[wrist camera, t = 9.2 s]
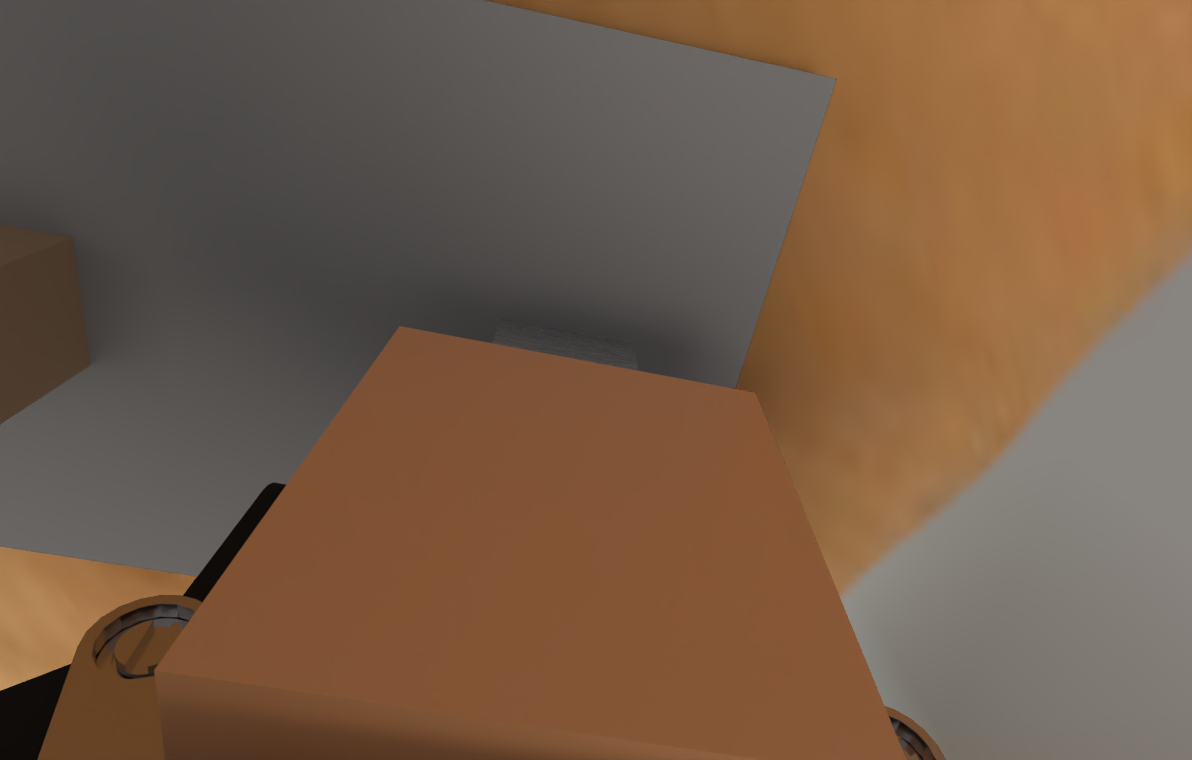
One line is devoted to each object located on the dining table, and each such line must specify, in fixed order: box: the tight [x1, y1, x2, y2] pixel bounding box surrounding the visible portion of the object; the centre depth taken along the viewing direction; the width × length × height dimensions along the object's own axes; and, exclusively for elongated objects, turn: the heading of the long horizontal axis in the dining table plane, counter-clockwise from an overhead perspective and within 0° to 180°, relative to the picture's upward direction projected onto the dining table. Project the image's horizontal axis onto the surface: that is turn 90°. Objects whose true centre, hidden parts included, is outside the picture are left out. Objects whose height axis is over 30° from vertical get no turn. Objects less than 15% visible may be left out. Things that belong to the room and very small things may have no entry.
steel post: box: [492, 318, 638, 371], centre depth 13 cm, size 3×3×7 cm
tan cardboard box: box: [154, 326, 906, 760], centre depth 9 cm, size 6×6×7 cm
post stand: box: [0, 0, 837, 576], centre depth 13 cm, size 15×20×8 cm
